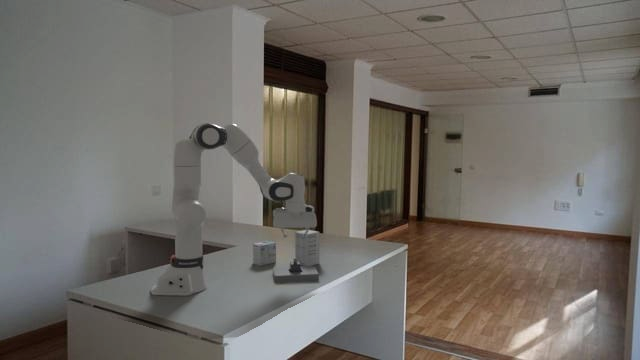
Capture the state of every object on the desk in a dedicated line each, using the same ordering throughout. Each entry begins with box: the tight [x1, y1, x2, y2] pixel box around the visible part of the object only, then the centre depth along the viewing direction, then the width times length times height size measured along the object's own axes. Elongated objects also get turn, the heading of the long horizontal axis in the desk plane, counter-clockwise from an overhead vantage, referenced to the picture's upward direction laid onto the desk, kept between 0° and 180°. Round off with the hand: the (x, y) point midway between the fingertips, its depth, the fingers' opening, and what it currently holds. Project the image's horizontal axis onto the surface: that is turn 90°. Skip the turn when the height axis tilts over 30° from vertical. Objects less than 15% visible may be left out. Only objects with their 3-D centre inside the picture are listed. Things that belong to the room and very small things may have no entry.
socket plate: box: [272, 265, 320, 283], centre depth 209 cm, size 20×14×3 cm
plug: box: [289, 258, 302, 273], centre depth 208 cm, size 4×4×8 cm
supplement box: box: [294, 229, 321, 266], centre depth 231 cm, size 10×9×17 cm
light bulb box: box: [252, 240, 277, 267], centre depth 232 cm, size 11×7×11 cm, turn 134°
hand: (294, 237), depth 207 cm, fingers open, 8 cm apart
